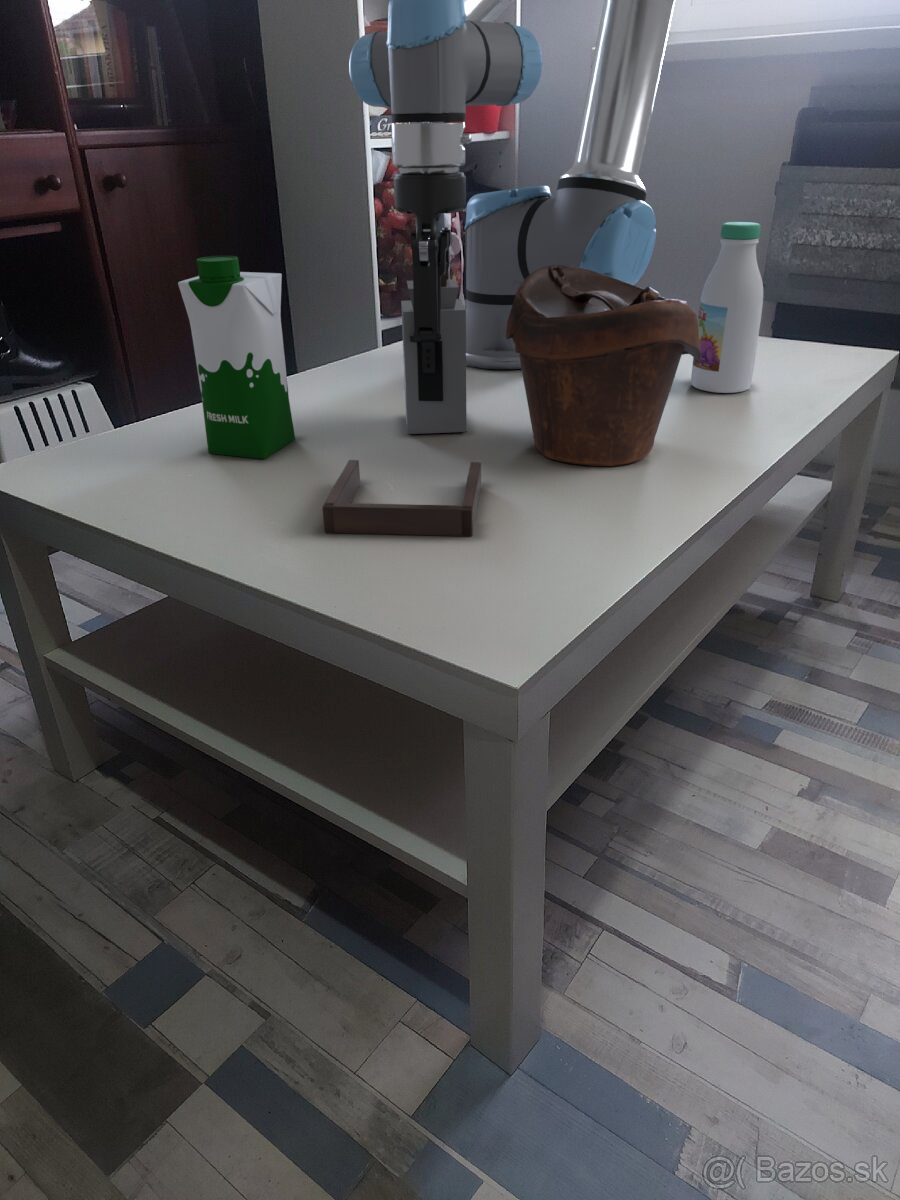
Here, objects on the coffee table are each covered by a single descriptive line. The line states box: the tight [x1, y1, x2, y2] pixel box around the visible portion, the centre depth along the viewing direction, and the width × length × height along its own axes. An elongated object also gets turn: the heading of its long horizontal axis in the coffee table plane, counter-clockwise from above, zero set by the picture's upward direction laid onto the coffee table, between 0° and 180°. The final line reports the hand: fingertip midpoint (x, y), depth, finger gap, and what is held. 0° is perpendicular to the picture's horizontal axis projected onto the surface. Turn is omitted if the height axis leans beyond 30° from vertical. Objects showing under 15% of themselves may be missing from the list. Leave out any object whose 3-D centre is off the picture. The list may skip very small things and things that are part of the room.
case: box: [506, 265, 701, 467], centre depth 92 cm, size 18×20×18 cm
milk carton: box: [177, 255, 296, 460], centre depth 94 cm, size 9×9×20 cm
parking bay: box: [321, 459, 482, 537], centre depth 82 cm, size 12×13×2 cm
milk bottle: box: [690, 221, 764, 394], centre depth 113 cm, size 8×8×20 cm
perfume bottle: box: [400, 262, 467, 435], centre depth 100 cm, size 7×7×18 cm
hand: (434, 391), depth 103 cm, fingers closed on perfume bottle, 6 cm apart
